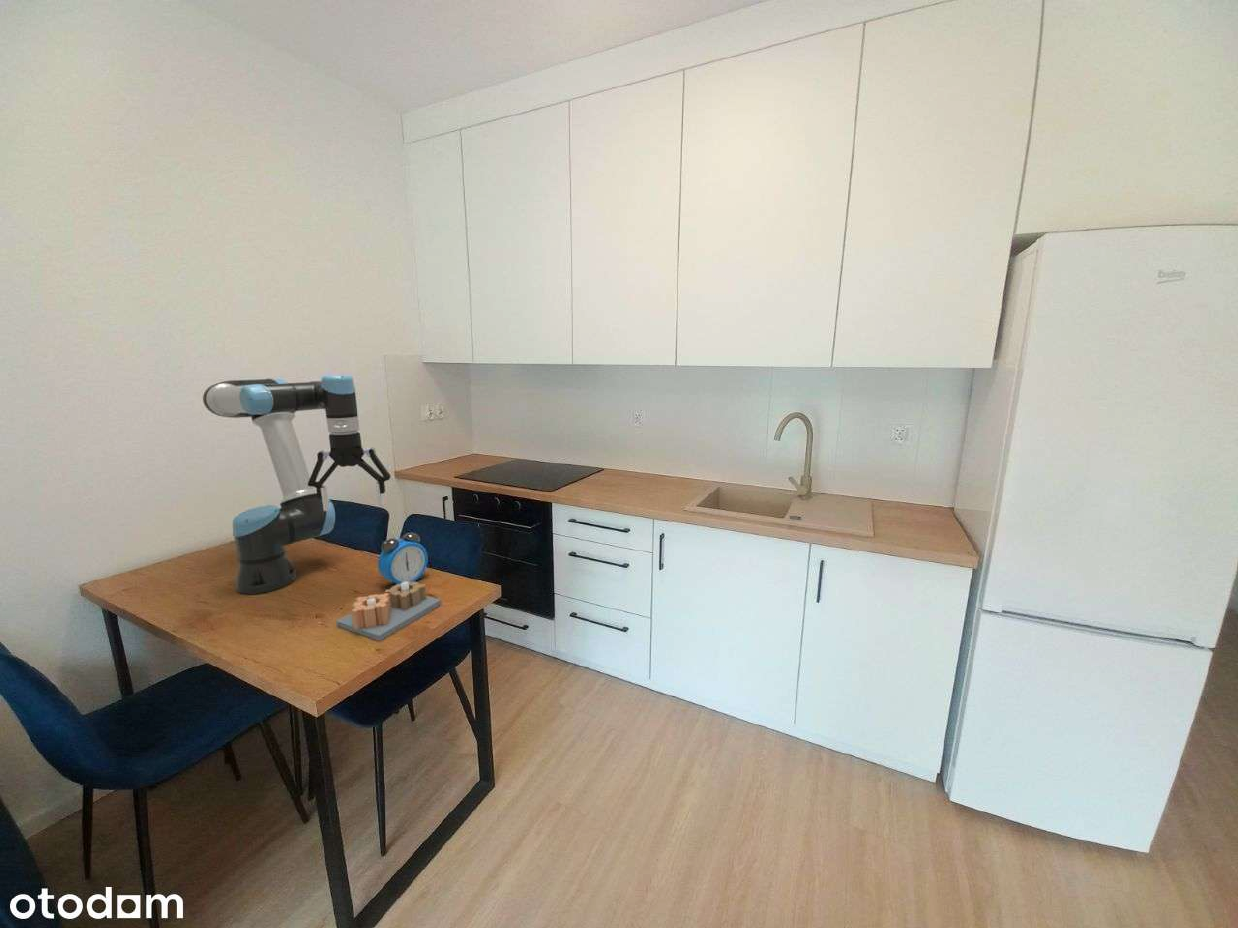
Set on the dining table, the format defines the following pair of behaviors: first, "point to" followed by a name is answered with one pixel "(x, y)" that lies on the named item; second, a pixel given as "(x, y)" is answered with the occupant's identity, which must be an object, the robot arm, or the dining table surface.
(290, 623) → the dining table surface
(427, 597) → the gear board
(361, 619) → the loose gear
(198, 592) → the dining table surface
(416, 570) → the alarm clock
